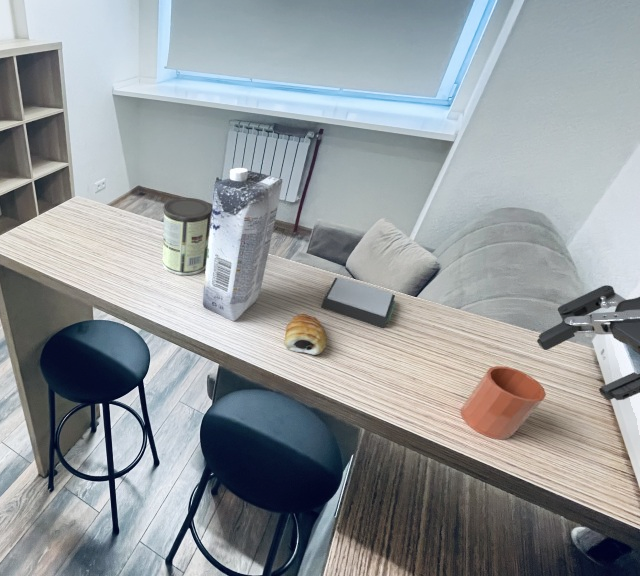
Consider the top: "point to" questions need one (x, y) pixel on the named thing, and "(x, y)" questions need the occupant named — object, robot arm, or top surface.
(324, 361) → the top surface
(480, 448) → the top surface
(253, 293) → the juice carton
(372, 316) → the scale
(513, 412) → the terracotta flower pot
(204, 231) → the coffee can
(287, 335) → the pastry
